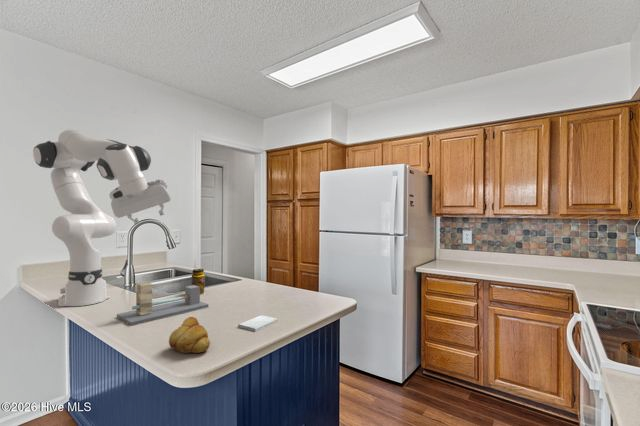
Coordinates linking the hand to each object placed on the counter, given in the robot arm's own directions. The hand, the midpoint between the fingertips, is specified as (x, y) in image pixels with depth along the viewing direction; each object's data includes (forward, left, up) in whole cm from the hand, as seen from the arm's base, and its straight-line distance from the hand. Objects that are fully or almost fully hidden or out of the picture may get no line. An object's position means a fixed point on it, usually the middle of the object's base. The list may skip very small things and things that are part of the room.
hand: (149, 219), depth 125 cm
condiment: (-16, +28, -38) cm, 50 cm away
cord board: (+2, +5, -37) cm, 38 cm away
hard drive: (+41, +21, -38) cm, 60 cm away
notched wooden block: (+2, -3, -36) cm, 36 cm away
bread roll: (+43, -5, -38) cm, 58 cm away
